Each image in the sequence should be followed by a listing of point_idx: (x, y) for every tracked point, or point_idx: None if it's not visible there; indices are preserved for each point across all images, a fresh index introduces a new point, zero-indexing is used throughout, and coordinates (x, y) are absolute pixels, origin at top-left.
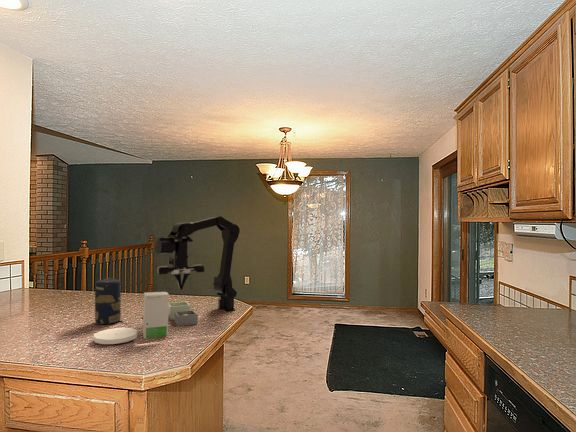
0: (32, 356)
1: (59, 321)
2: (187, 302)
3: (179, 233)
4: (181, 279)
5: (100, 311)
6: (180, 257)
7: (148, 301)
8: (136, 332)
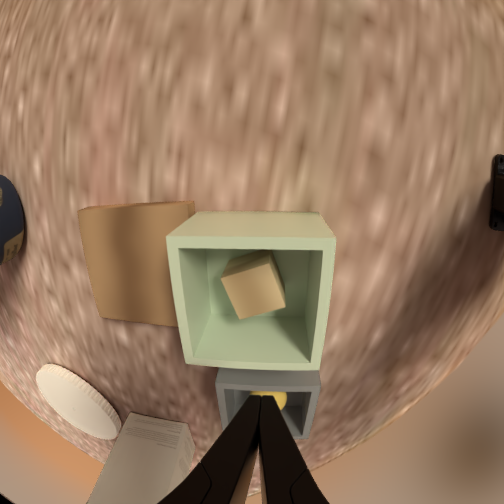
0: (14, 387)
1: None
2: (330, 289)
3: None
4: (266, 500)
5: None
6: None
7: None
8: (115, 429)
